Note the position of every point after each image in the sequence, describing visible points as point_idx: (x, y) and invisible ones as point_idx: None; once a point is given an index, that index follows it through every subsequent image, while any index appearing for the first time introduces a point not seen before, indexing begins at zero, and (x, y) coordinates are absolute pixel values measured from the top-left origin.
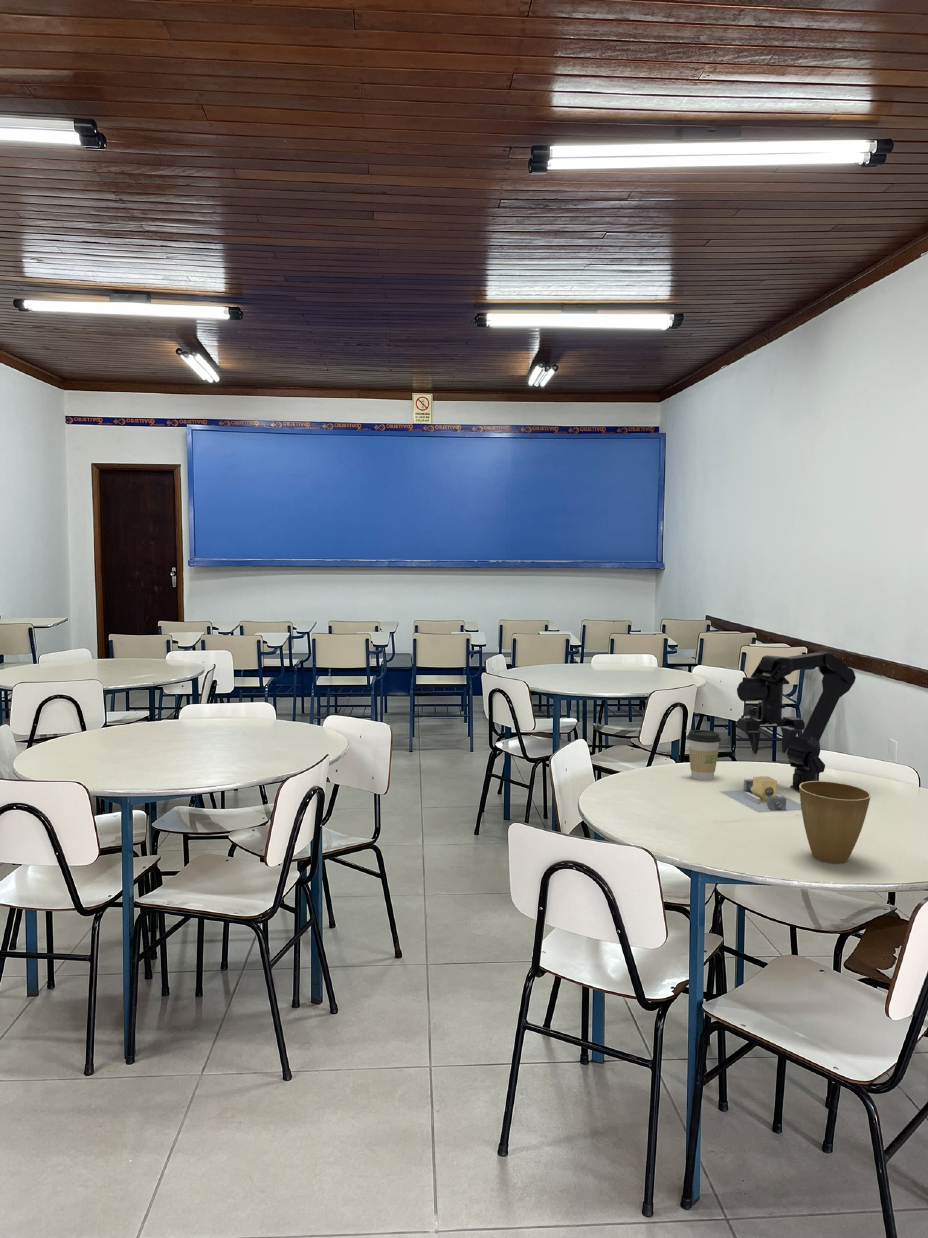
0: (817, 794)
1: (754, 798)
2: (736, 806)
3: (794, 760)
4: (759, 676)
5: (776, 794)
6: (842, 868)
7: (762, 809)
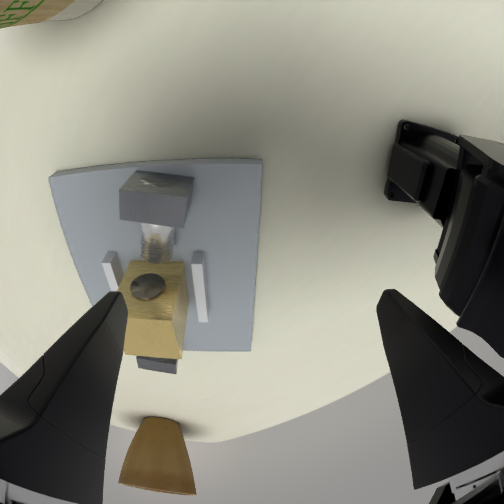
0: (151, 474)
1: None
2: None
3: (452, 219)
4: None
5: (200, 300)
6: None
7: None
